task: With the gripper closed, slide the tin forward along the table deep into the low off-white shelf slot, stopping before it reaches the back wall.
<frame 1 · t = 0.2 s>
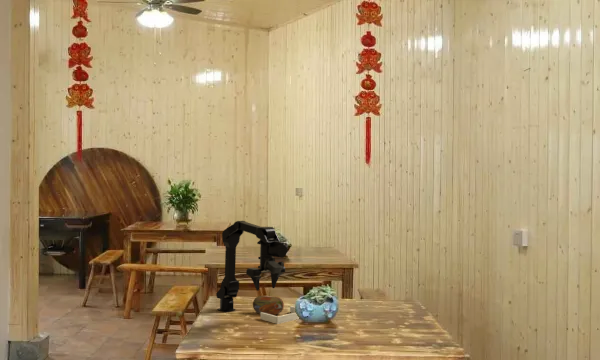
hand: (265, 289, 262), 14 cm above the table, tool pointing down, fingers open, 9 cm apart
tin: (268, 314, 277), on the table
shelf slot: (284, 317, 269), on the table
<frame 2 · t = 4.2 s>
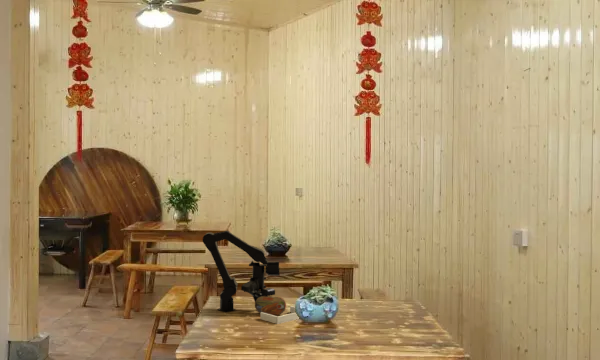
hand: (257, 307, 282), 2 cm above the table, tool pointing down, fingers closed
tin: (270, 314, 276), on the table, touching gripper
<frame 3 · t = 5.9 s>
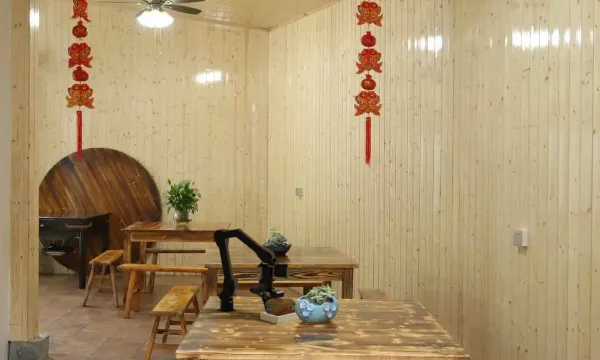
hand: (266, 309, 278), 2 cm above the table, tool pointing down, fingers closed
tin: (280, 315, 273), on the table, touching gripper
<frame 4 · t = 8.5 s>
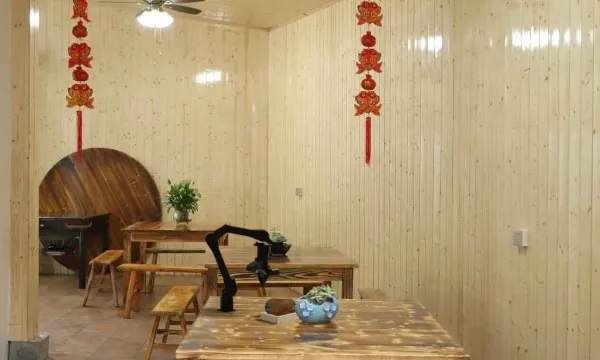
hand: (262, 287, 284), 11 cm above the table, tool pointing down, fingers closed
tin: (280, 316, 273), on the table
at the end: tin inside the target area (2.2 cm from its centre), on the table; tin moved 7.3 cm from its start; tin tilted 0° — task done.
